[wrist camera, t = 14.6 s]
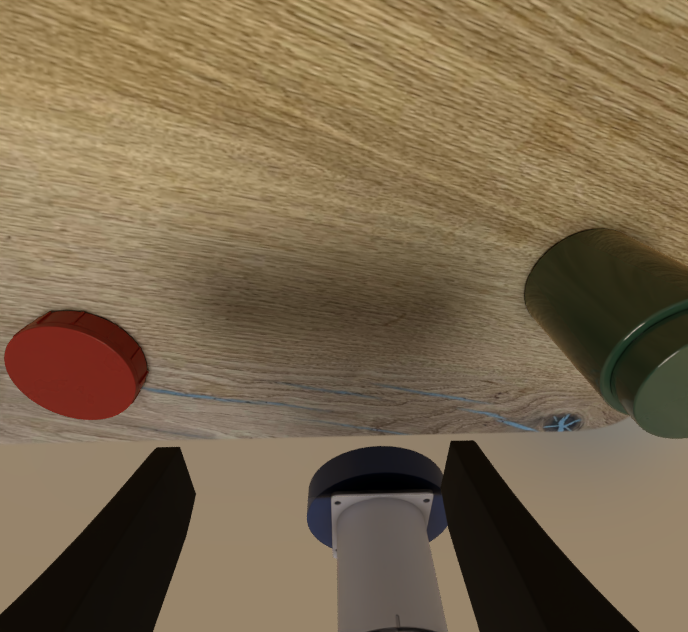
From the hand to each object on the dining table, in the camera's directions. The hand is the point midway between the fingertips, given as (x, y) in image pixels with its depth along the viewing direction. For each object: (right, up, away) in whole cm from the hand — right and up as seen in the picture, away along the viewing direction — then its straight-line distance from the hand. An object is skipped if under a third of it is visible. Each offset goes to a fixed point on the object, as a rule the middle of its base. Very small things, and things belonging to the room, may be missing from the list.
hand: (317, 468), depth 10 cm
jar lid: (-12, +1, +8) cm, 15 cm away
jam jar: (+12, +6, +7) cm, 15 cm away
